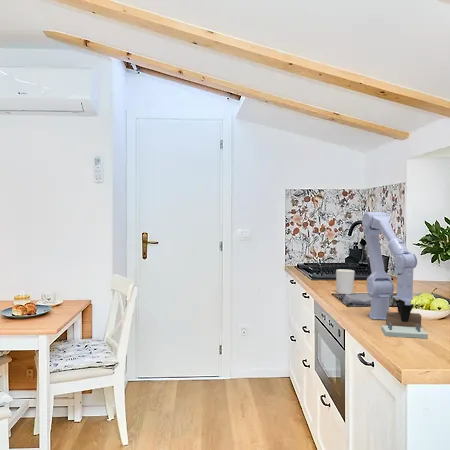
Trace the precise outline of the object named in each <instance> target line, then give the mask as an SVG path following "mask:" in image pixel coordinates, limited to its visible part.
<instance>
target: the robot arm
mask: <svg viewBox="0 0 450 450" xmlns="http://www.w3.org/2000/svg"><path fill="white" fill-rule="evenodd" d="M361 224H362V230H363V233H364V236H365V242H366V250H367V254H368V259H369V265H370V271H371V274H370V275H368V276H367V278H366V291H367V294H368V295H370V297H371V304H370V312H368V313H367V315H368V316H369V318H370V319H371V320H385V321H386V317H387V312H390V297H392V298H393V299H396V300H394V302H395V304H396V307H397V312H400V313H401V320H402V322H408V320H409V316H410V313H412V310H413V308H414V306H415V305H414V303H412V301H413V300H414V297H413V295H414V294H413V292H414V291H413V290H414V289H413V288H414V287H413V286H414V269H415V268H416V267H417V265H418V258H417V255H416V254H414V253H412V252H411V251H409V249H408V248H407V246H406V245H405V243H404V241H403V239H401V238H399V237H398V238H397V235H396V233H395V231H394V229H393V226H392V225H391V217H390V214H389V213H388V212H386V211H383V212H381V211H377V212H376V211H365V212H364V213H363V215H362V217H361ZM380 234H383V236H384V238H385V239H386V240H387V241H388V244H387V247H388V249H389V251H390V253H391V254H392V256H393V258H394V260H393V262H394V266H395V272H396V275H397V277H396V280H397V281H396V295H393V296H392V294H393V293H394V292H395V284H394V281H393V280H392V277H391V275H390V274H388V273H387V272H386V271H385V264H384V259H383V254H382V253H383V252H382V249H381V243H380V238H379V235H380Z"/></svg>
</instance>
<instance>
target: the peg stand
mask: <svg viewBox="0 0 450 450" xmlns="http://www.w3.org/2000/svg"><path fill="white" fill-rule="evenodd" d="M381 331H382V332H383V334H384V336H385V337H395V338H409V339H410V338H412V339H413V338H414V339H428V335H429V334H428V333H427V332H426V331H425V330H424V329H423V328H422V326H421V327H420V326H419V324H416V327H404V326H392V324H391V322H388V325H387V324H386V325H383V324H381Z"/></svg>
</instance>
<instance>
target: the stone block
mask: <svg viewBox="0 0 450 450" xmlns="http://www.w3.org/2000/svg"><path fill="white" fill-rule="evenodd" d="M343 300H344V302H346V303H347V304H350V303H352V304H351V305H353V304H354V305H365V304H368V305H371V296H370V294H369V293H367V292H366V293H364V292H363V293H362V292H361V293H355V294H344V297H343Z"/></svg>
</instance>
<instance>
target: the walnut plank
mask: <svg viewBox="0 0 450 450" xmlns="http://www.w3.org/2000/svg"><path fill="white" fill-rule="evenodd" d="M385 322H386V325H388V322H391V324H392V326H404V327H416V324H419V326H420V327H421V328H422V315H421V313H417V312H416V313H414V312H410V316H409V320H408V322H402V320H401V313H400V312H398V311H396V312H395V311H389V312H387V317H386V320H385Z"/></svg>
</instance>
